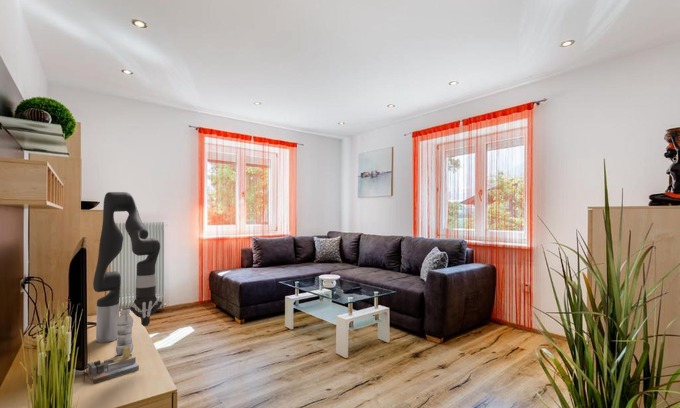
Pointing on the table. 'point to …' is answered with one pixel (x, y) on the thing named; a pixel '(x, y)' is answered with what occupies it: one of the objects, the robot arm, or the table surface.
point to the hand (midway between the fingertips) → (145, 325)
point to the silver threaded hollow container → (124, 331)
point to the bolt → (125, 354)
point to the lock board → (110, 368)
